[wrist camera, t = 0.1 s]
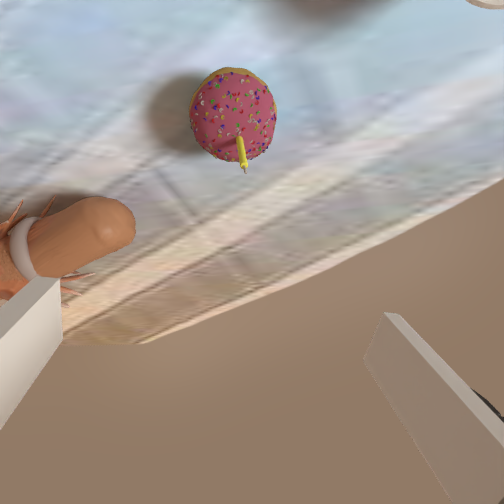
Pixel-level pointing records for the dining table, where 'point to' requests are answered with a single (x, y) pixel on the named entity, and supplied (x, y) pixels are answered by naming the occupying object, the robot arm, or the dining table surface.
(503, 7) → the teacup
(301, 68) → the dining table surface
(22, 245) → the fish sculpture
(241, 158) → the cupcake
